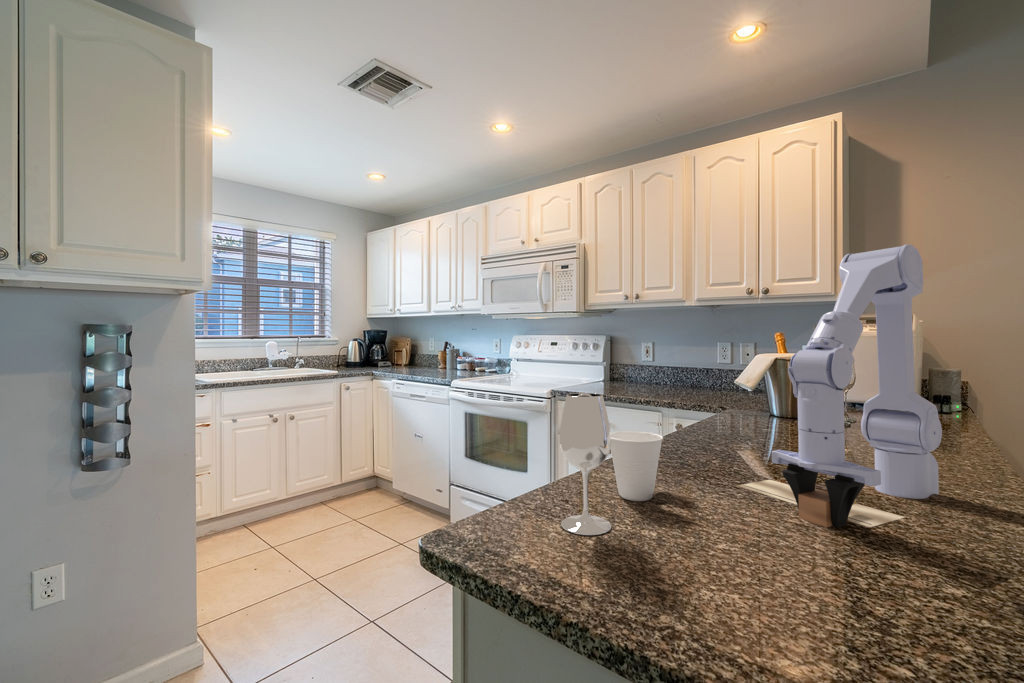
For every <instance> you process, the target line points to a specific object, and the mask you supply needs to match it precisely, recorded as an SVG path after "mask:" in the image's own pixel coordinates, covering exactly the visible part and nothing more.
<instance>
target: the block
mask: <svg viewBox="0 0 1024 683" xmlns="http://www.w3.org/2000/svg"><path fill="white" fill-rule="evenodd" d="M798 496H799V509H798V519H800V520H804V521H806V522H810V523H812V524H815V525H818V526H821V527H823V528H829V527H833V526H832V523H831V505H830V499H829V494H828V491H827V490H826V491H825V490H821V489H817V490H815V491H812V492H807V493H802V494H798ZM853 504H857V498H856V499H855V501H854V503H853ZM848 522H849V521H848V520H847V523H848Z"/></svg>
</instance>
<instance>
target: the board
mask: <svg viewBox="0 0 1024 683" xmlns="http://www.w3.org/2000/svg"><path fill="white" fill-rule="evenodd" d="M736 487H739V488H742V489H745V490H748V491H752V492H754V493H758V494H761V495H765V496H768V497H771V498H773V499H777V500H781V501H784V502H786V503H790V504H793V505H796V506H797V502H796V499H795V497H794V494H793V492H792V490H791V488H790V486H789V484H788V483H784V482H780V481H777V480H772V479H765V480H761V481H754V482H750V483H749V482H748V483H744V484H739V485H736ZM905 518H906V516H903V515H900V514H896V513H891V512H888V511H885V510H882V509H878V508H874V507H871V506H867V505H863V504H859V503H856V504H853V505H852V507H851V510H850V513H849V516H848V522H850V523H853V524H856V525H860V526H864V527H867V528H872V527H878V526H880V525H885V524H888V523H891V522H894V521H897V520H901V519H905Z"/></svg>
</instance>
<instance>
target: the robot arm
mask: <svg viewBox="0 0 1024 683" xmlns="http://www.w3.org/2000/svg"><path fill="white" fill-rule="evenodd" d="M923 268H924V267H923V258H922V256H921V254H920V252H919V250H918V248H916V247H915V246H914V245H912V244H911V243H908V244H903V245H902V246H894V247H888V248H882V249H877V250H869V251H864V252H857V253H847V254H845V255H844V256H843V257H842V259H841V260H840V263H839V268H838V270H839V271H838V276H839V279H840V281H841V289H840V291H839V294H838V296H837V299H836V301H835V304H834V307H833V310H832V311H829V312H826V313H824V314H823V315H822V316H821V317H820V319H819V321H818V323H817V324H816V327H815V328H814V331H813V332H812V334H811V336H810V339H809V340H808V342H807V344H806V345H805V348H804V349H800V350H798V351H797V352H795V353H793V355H792V356H791V357H790V361H789V367H787V374H788V378H789V380H790V382H791V385H792V393H793V396H794V398H797V430H798V431H797V434H798V438H797V440H798V446H797V447H798V452H795V451H789V450H784V449H775V450H772V451H771V463H772V464H777V465H785V466H787V467H786V469H782V472H781V473H782V476H783V477H784V479H785V480H786V483H787V484H788V485H789V486H790V488H791V490H792V492H793V494H794V497H795V499H796V502H797V505H796V506H797V509H798V510H799V496H798V494H802V493H807V492H812V491H816V484H817V478H818V474H823V475H827V476H832V477H834V478H829V479H825V480H824V484H825V487H826V491H827V492H828V494H829V499H830V505H831V523H832V526H831V527H834V528H837V529H838V528H840V527H845V526H847V523H848V522H847V520H848V516H849V513H850V510H851V507H852V505H853V503H854V501H855V499H856V500H857V498H858V496H859V494H860V492H861V491H862V490H863V489H864V487H865V486H868V487H874V489H875V490H876V491H877V492H879V493H882V494H885V495H889V496H892V497H898V498H906V499H913V500H914V499H915V500H917V499H919V500H923V499H928V498H929V497H930V496H932V495H940V491H939V490H940V488H939V485H940V484H939V480H940V479H939V478H940V477H939V463H938V461H937V459H936V458H935V455H933V454H932V453H931V452H933V451H935V450H936V449H938V448H939V446H940V445H941V442H942V437H943V436H942V435H943V429H942V423H941V421H940V418H939V417H940V416H939V411H938V409H937V406H936V405H935V404H934V403H933V402H931V401H929V400H927V399H926V398H924V397H923V396H921V395H920V394H918V393H917V392H916V384H915V383H916V382H915V381H916V379H915V378H916V377H915V376H916V375H915V355H914V354H915V353H914V334H913V333H914V331H913V311H912V310H913V298H914V297H916V296H918V295H920V294H922V293H923V286H924V269H923ZM870 303H871V304H873V305H874V307H875V322H876V323H875V324H876V325H875V327H876V329H875V330H876V350H877V351H876V352H877V371H878V372H877V373H878V375H877V376H878V377H877V378H878V394H876V395H874V396H872V397H871V398H869V399H867V400H866V401H865V402H864V403H863V409H862V411H863V412H862V417H861V422H860V430H861V434H862V436H863V438H864V439H865V440H866V442H868V443H869V446H870V447H872V448H874V468H870V467H866V466H863V465H860V464H857V463H854V462H850V461H847V460H846V453H845V452H846V450H845V448H846V447H845V444H846V442H845V437H846V436H845V403H844V402H845V401H844V400H845V399H844V398H845V397H844V393H845V392H844V390H845V389H846V388H847V387H848V386H849V384H850V382H851V381H852V377H853V365H854V362H855V360H854V359H855V357H854V355H853V353H854V351H855V348H856V346H857V345H858V343H859V339H860V338H861V335H862V333H863V331H864V325H863V322H862V321H861V319H860V318H861V317H862V315H863V313H864V312H865V310H866V309H867V307H868V306H869V304H870Z"/></svg>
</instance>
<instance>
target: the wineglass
mask: <svg viewBox="0 0 1024 683" xmlns="http://www.w3.org/2000/svg"><path fill="white" fill-rule="evenodd" d="M611 433H612V432H611V427H610V423H609V417H608V411H607V406H606V404H605V400H604V396H603V394H601V393H593V392H592V393H591V392H575V393H574V392H573V393H567V394H566V397H565V401H564V405H563V411H562V417H561V421H560V427H559V439H558V440H559V448H560V451H561V454H562V455H563V457H564V458H565V460H566V461H567V462H568V463H569V464H570V465H571V466H573V467H574V468H576V469H579V470H580V472H581V474H582V485H583V487H582V488H583V491H582V493H583V494H582V496H583V510H582V514H578V515H577V514H576V515H571V516H568V517H566V518H564V519H563V520H562V521H561V523H560V525H561V528H563V529H564V530H565V531H567V532H569V533H571V534H575V535H581V536H598V535H603V534H606V533H607V532H610V531H611V529H612V524H611V522H610V521H608V520H607V519H606V518H603V517H600V516H596V515H591V514H590V511H589V476H590V471H591V470H593V469H594V470H595V469H596V468H597V467H600V466H601V464H603V463H604V462H605V461H606V459H607V458H608V456H609V455H610V453H611Z"/></svg>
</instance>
